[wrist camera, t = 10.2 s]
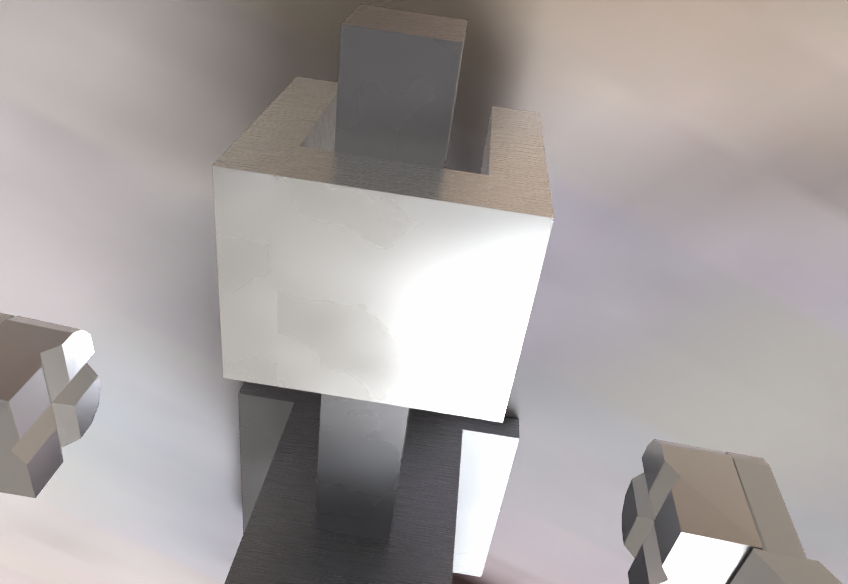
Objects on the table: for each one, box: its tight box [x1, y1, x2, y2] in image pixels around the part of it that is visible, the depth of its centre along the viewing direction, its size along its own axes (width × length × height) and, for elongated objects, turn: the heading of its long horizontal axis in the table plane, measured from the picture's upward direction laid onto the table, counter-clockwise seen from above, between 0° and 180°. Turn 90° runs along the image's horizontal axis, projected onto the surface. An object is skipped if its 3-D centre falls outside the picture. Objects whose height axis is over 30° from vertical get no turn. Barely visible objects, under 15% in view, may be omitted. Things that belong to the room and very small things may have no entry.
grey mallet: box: [225, 4, 519, 584], centre depth 19 cm, size 10×22×10 cm, turn 173°
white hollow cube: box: [212, 76, 554, 422], centre depth 16 cm, size 6×5×6 cm
